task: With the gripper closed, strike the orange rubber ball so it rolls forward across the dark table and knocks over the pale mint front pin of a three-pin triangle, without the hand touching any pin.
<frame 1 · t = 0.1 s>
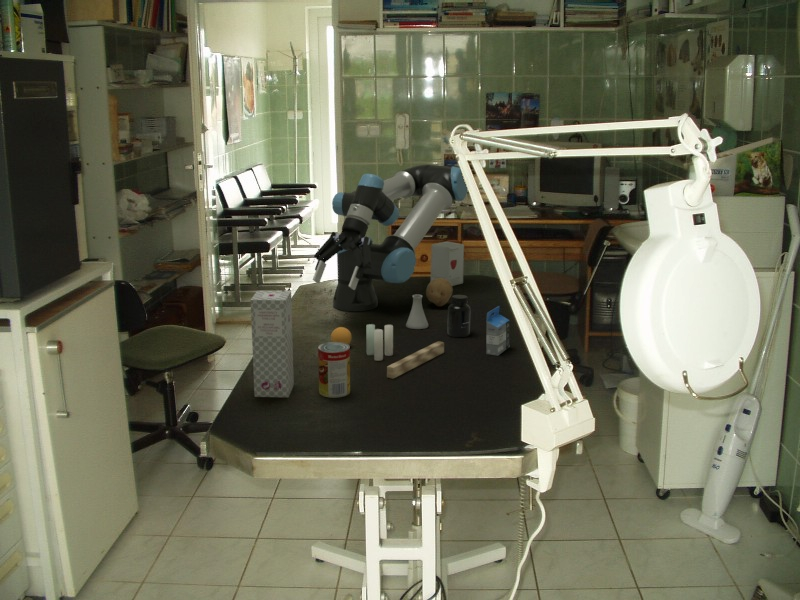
hand: (333, 284, 265), 15 cm above the table, tool tilted 35°, fingers open, 13 cm apart
supplement bottle: (458, 335, 269), on the table
front pin: (370, 353, 251), on the table
box: (274, 391, 223), on the table
ball: (341, 337, 255), on the table
canned food: (334, 392, 222), on the table
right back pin: (378, 359, 246), on the table
wooden bar: (416, 364, 242), on the table
natural sponge: (438, 307, 298), on the table
label tape box: (497, 351, 254), on the table
left back pin: (388, 354, 250), on the table
flask: (417, 327, 277), on the table
supplement box: (446, 284, 329), on the table
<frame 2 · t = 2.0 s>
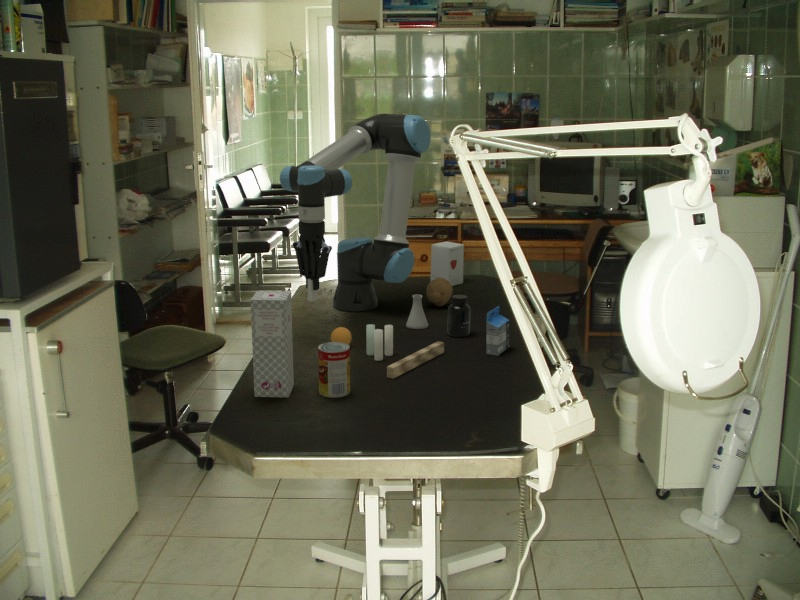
hand: (312, 300, 258), 13 cm above the table, tool pointing down, fingers closed
nothing on the table moved.
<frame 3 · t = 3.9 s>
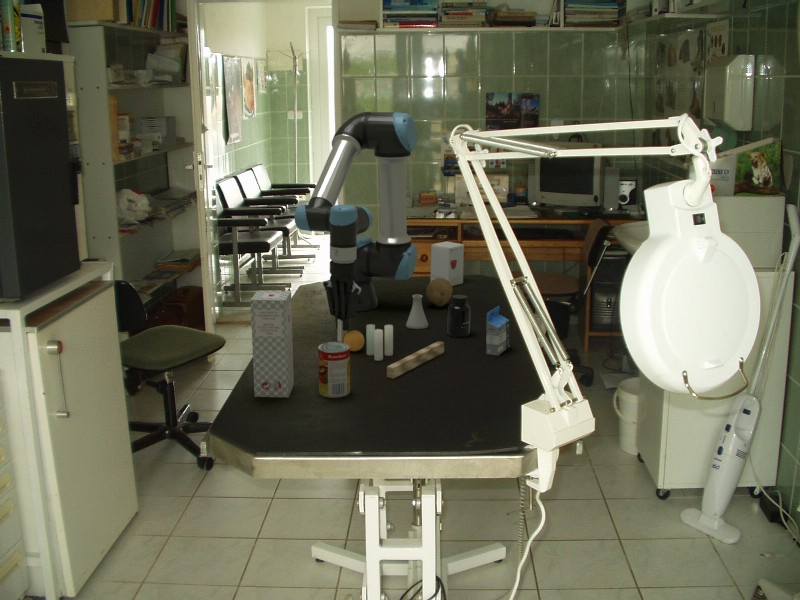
hand: (342, 340, 254), 3 cm above the table, tool pointing down, fingers closed
ball: (354, 340, 252), on the table, touching gripper
everything else where it was.
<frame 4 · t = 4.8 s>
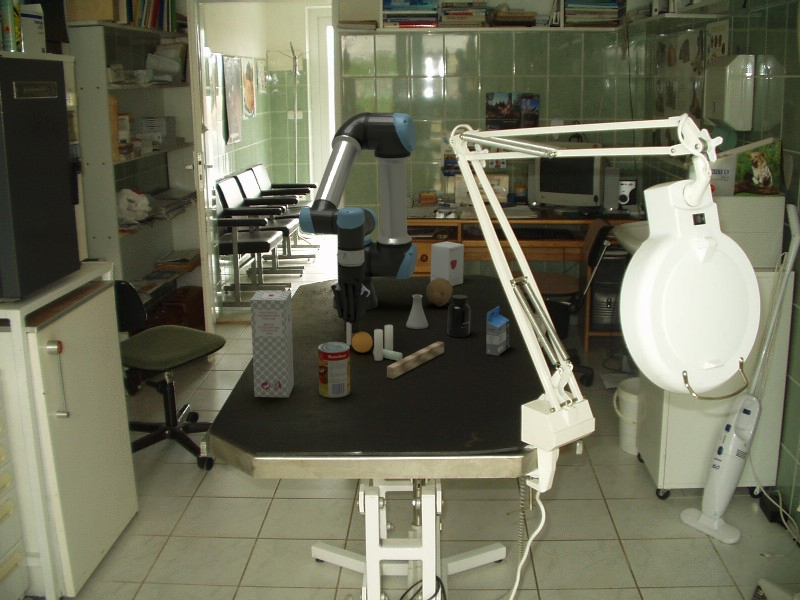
hand: (351, 343, 253), 2 cm above the table, tool pointing down, fingers closed
front pin: (375, 351, 249), point 1 cm above the table, tilted 90°
ball: (362, 342, 251), on the table, touching gripper
everything else where it was.
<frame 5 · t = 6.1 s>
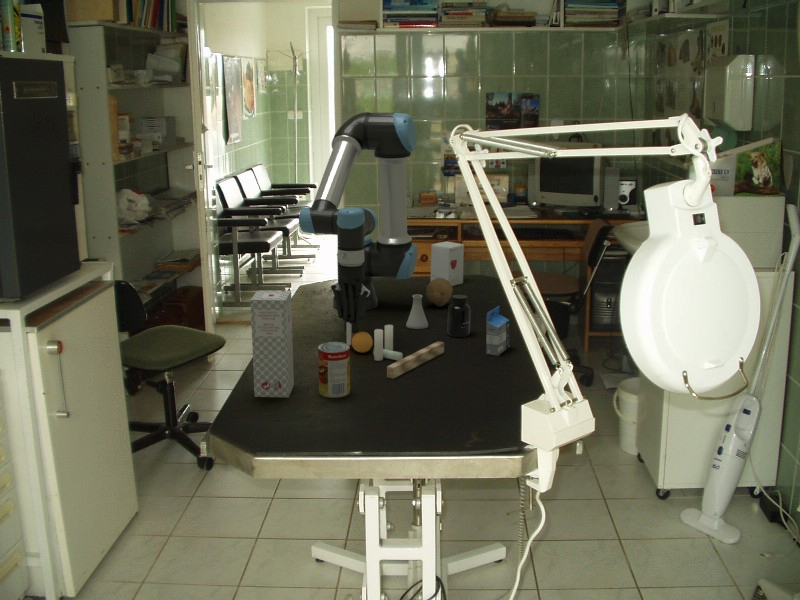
hand: (351, 343, 253), 2 cm above the table, tool pointing down, fingers closed
nothing on the table moved.
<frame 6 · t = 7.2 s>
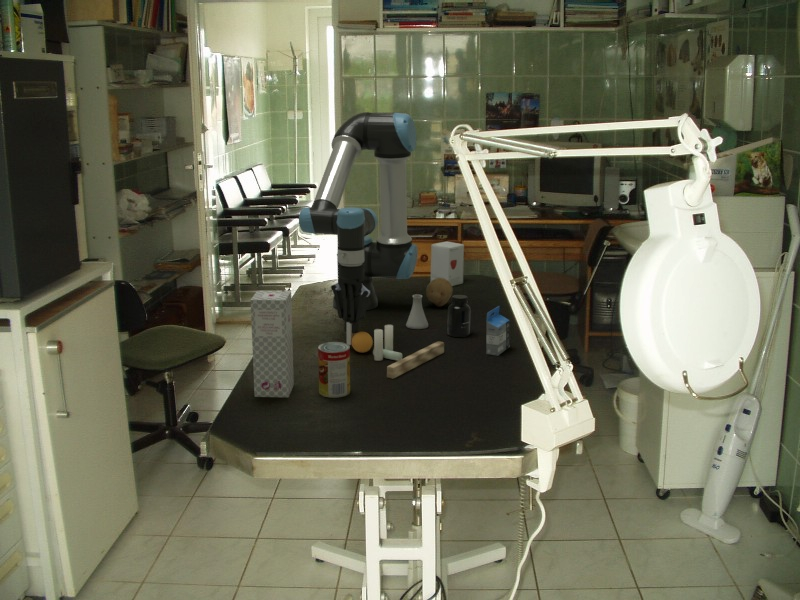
hand: (351, 343, 253), 2 cm above the table, tool pointing down, fingers closed
nothing on the table moved.
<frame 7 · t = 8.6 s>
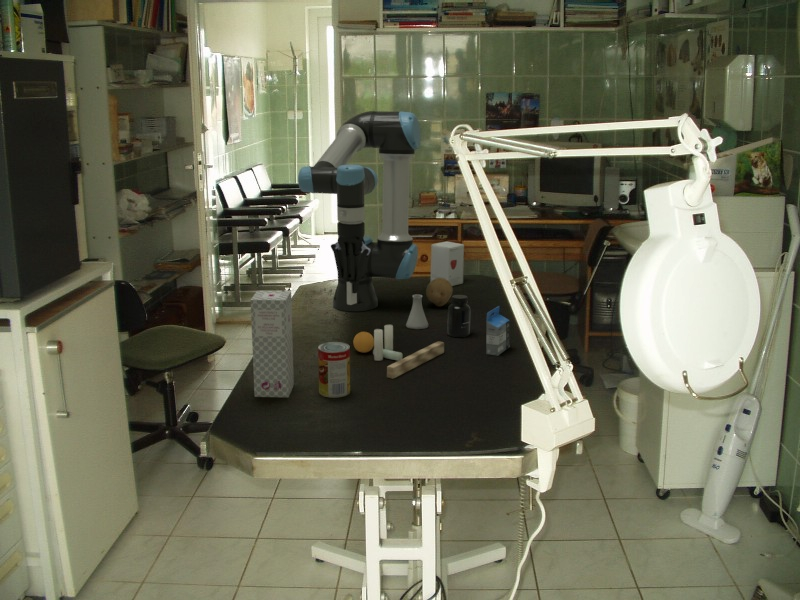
hand: (351, 303, 250), 14 cm above the table, tool pointing down, fingers closed
ball: (363, 342, 251), on the table
everything else where it was.
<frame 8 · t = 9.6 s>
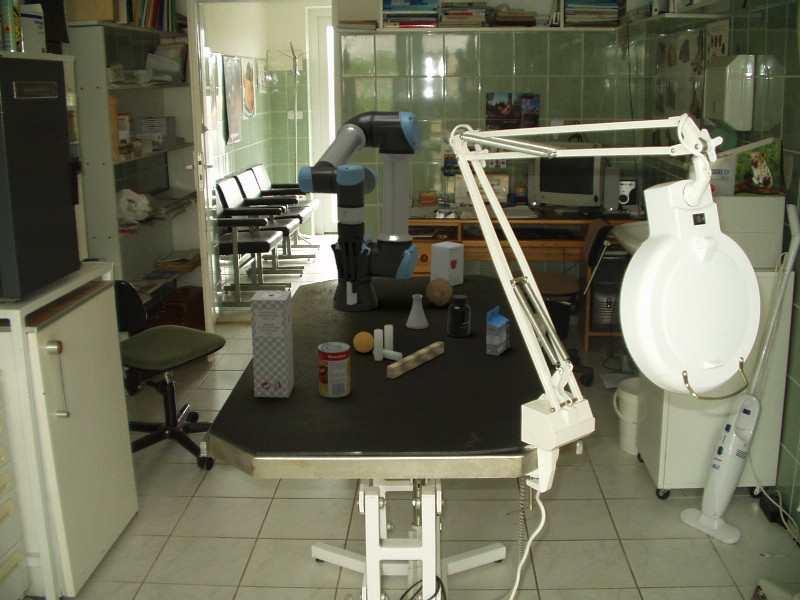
hand: (351, 303, 250), 14 cm above the table, tool pointing down, fingers closed
nothing on the table moved.
at the end: front pin tilted 90°; front pin never touched the robot; ball moved 8.0 cm from its start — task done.
